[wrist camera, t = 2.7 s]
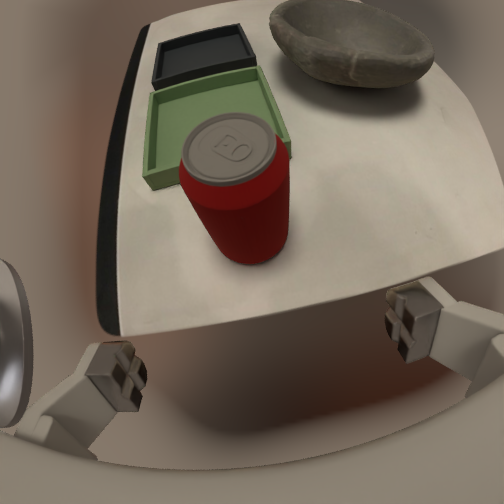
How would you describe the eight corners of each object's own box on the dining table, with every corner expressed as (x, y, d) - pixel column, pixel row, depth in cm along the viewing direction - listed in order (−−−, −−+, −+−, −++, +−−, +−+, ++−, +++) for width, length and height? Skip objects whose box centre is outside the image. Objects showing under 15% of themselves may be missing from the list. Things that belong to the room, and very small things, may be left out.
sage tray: (152, 190, 29) (142, 176, 26) (156, 106, 34) (149, 92, 32) (291, 158, 28) (291, 140, 26) (261, 80, 34) (259, 65, 31)
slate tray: (157, 96, 35) (151, 82, 33) (162, 54, 41) (158, 43, 38) (257, 71, 35) (255, 56, 32) (241, 34, 40) (239, 23, 37)
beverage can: (246, 188, 27) (223, 93, 16) (303, 224, 25) (313, 131, 14) (200, 239, 26) (146, 160, 15) (257, 282, 24) (233, 218, 13)
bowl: (439, 133, 28) (466, 78, 19) (270, 114, 31) (264, 45, 21) (395, 49, 36) (404, 7, 26) (275, 37, 39) (271, -9, 29)
